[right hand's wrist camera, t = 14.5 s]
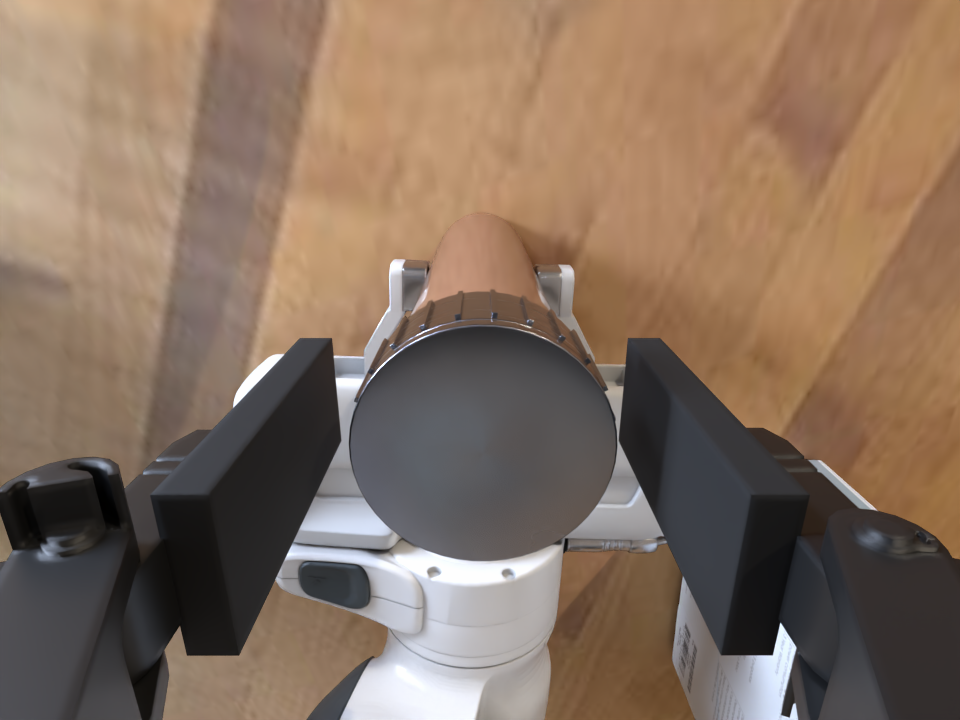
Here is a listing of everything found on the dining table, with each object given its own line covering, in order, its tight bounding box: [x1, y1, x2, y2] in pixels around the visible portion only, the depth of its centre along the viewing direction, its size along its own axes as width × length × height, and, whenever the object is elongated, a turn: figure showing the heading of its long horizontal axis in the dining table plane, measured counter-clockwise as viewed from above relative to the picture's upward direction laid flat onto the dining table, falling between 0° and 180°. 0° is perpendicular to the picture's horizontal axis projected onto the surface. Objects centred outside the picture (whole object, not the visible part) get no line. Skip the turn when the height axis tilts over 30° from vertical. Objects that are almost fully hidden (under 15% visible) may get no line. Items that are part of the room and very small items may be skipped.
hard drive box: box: [672, 460, 878, 720], centre depth 27 cm, size 16×8×20 cm, turn 1°
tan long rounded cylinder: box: [411, 213, 551, 315], centre depth 20 cm, size 4×4×20 cm
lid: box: [349, 289, 618, 562], centre depth 12 cm, size 5×5×2 cm
